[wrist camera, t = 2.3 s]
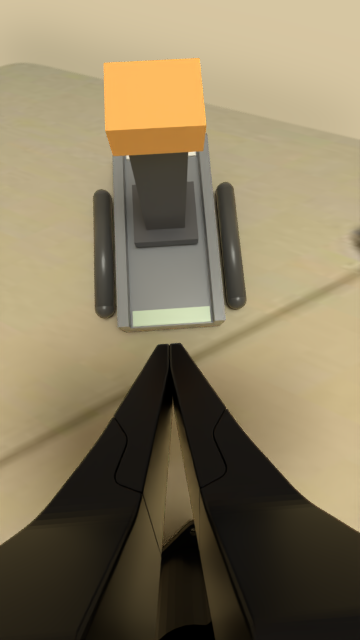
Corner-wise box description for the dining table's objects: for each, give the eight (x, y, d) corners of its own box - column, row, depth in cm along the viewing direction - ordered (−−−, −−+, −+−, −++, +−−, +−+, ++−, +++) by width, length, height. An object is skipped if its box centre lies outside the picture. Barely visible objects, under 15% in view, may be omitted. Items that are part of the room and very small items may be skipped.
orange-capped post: (197, 243, 21) (214, 138, 11) (136, 247, 21) (98, 145, 11) (193, 187, 22) (204, 45, 12) (133, 191, 22) (96, 50, 12)
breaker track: (246, 323, 22) (256, 317, 19) (98, 334, 22) (86, 329, 19) (227, 159, 25) (234, 131, 22) (95, 167, 25) (84, 140, 22)
